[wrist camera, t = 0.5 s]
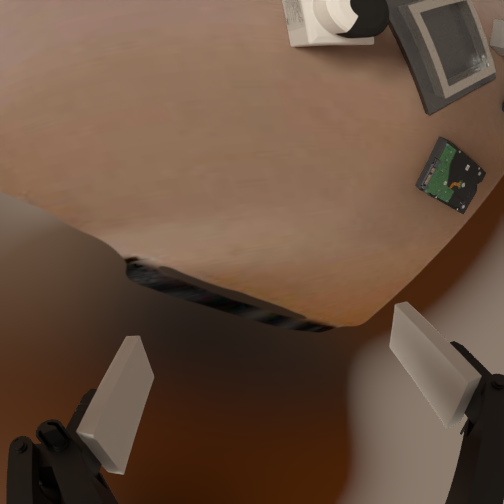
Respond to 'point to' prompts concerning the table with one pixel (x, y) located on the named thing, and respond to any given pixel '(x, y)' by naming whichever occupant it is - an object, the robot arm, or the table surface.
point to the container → (335, 21)
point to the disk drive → (450, 176)
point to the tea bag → (498, 36)
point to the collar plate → (442, 48)
